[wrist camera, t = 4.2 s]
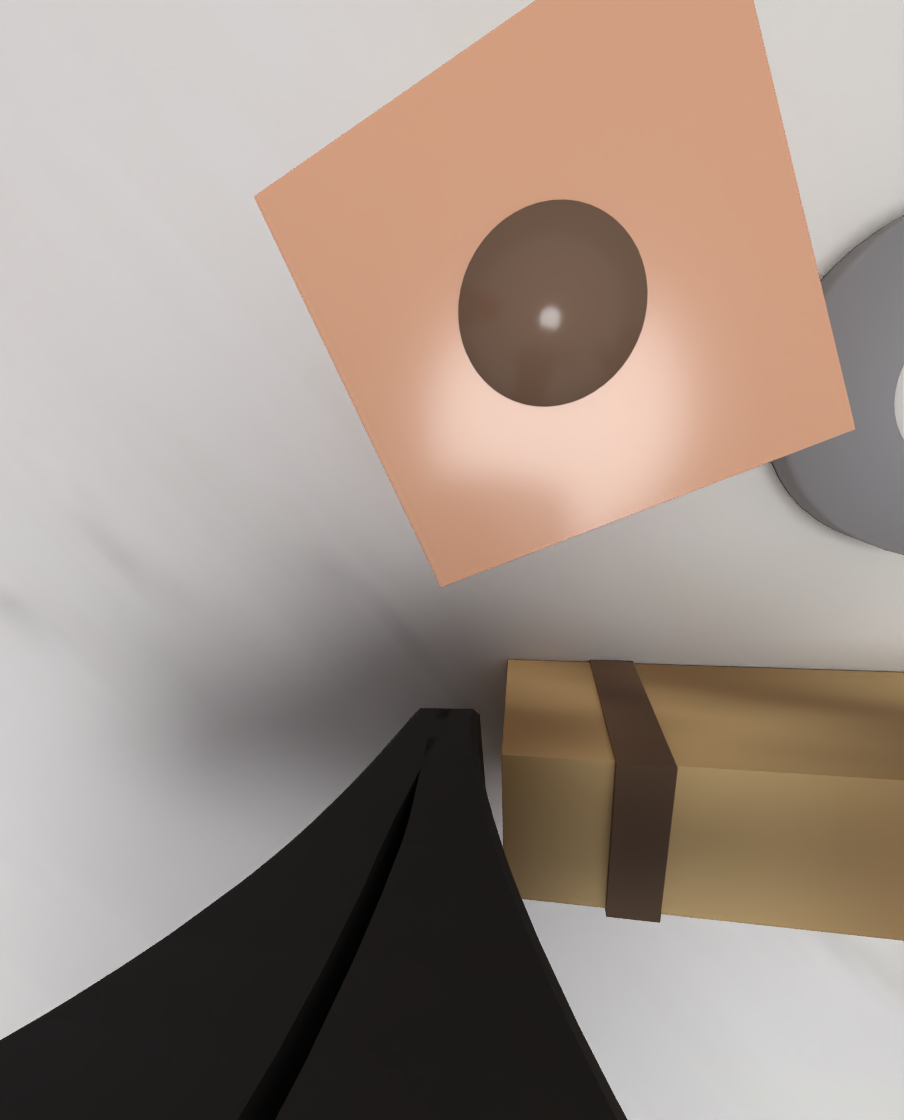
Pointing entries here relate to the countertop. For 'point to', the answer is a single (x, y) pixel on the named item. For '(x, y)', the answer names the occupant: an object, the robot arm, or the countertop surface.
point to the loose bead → (568, 275)
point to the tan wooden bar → (708, 792)
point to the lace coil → (862, 400)
